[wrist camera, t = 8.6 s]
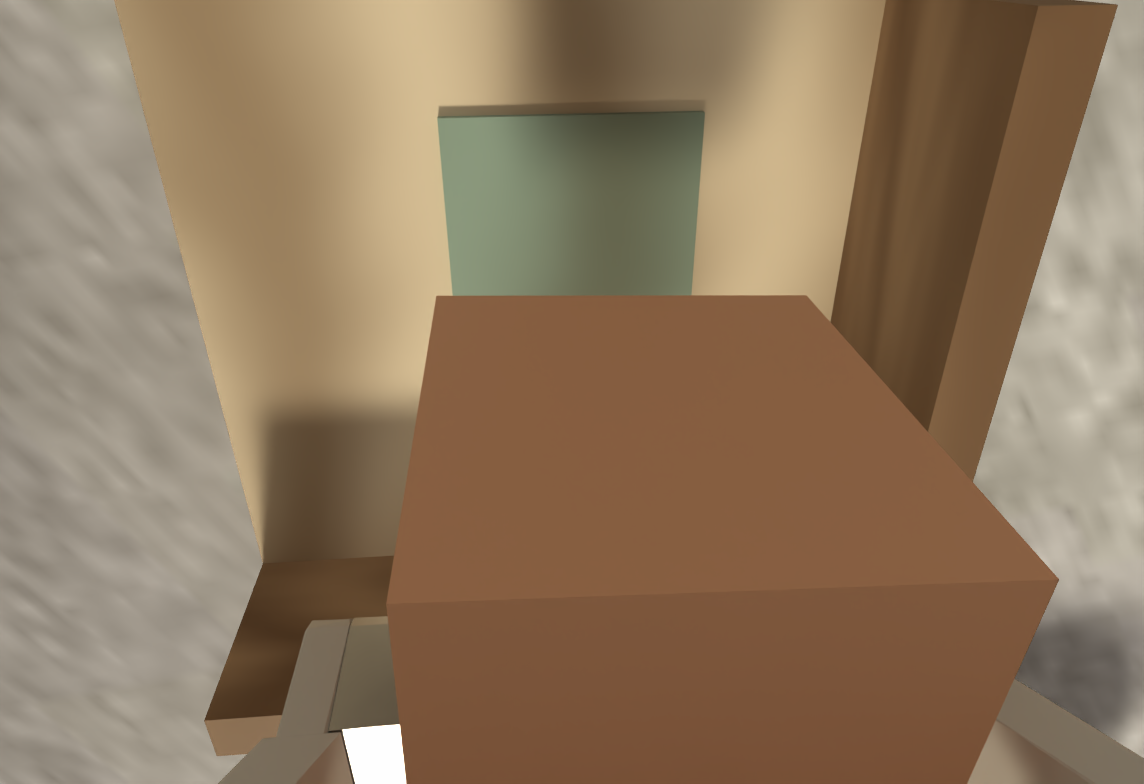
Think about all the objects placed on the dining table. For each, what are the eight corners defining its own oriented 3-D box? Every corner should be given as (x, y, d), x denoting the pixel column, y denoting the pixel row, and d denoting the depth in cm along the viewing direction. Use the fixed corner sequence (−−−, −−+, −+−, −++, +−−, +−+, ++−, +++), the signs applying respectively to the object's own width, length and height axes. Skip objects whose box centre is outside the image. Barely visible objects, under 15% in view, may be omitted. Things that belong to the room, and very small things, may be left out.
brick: (436, 295, 9) (385, 604, 5) (806, 295, 10) (1058, 580, 5) (460, 738, 13) (444, 1127, 9) (722, 725, 14) (829, 1090, 9)
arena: (278, 576, 23) (217, 756, 18) (130, -6, 15) (-48, 19, 10) (818, 542, 24) (905, 703, 19) (927, -15, 16) (1118, 4, 11)
